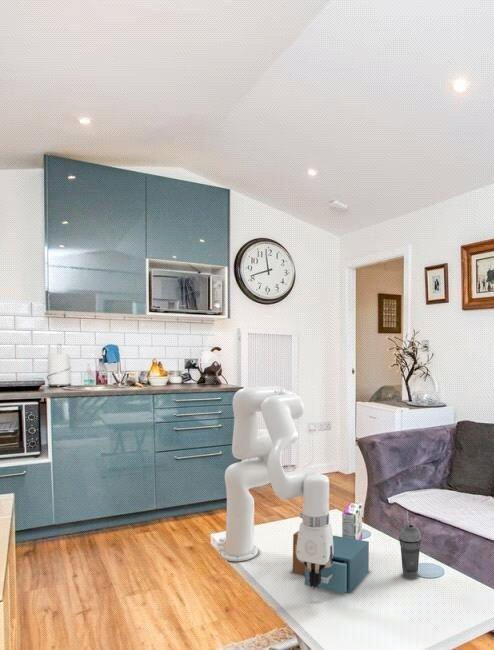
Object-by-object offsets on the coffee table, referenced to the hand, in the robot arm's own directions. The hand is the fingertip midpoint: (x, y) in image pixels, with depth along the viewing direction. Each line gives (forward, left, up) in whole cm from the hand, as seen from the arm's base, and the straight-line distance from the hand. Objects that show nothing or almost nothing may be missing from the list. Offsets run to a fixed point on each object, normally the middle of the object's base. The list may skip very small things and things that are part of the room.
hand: (315, 585), depth 140 cm
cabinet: (0, +16, -5) cm, 17 cm away
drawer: (0, +11, -4) cm, 11 cm away
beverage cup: (+20, +26, -5) cm, 33 cm away
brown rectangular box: (-12, +15, -5) cm, 20 cm away
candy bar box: (-3, +32, -5) cm, 32 cm away
